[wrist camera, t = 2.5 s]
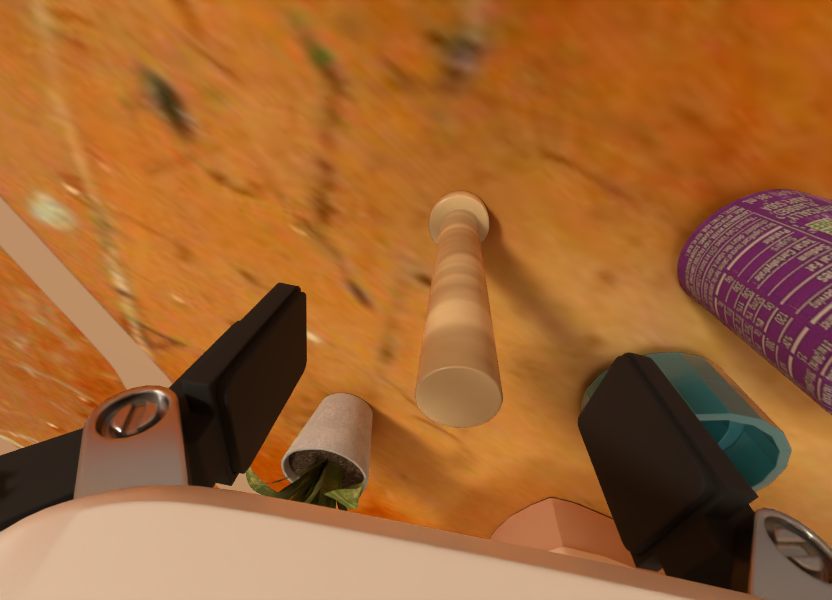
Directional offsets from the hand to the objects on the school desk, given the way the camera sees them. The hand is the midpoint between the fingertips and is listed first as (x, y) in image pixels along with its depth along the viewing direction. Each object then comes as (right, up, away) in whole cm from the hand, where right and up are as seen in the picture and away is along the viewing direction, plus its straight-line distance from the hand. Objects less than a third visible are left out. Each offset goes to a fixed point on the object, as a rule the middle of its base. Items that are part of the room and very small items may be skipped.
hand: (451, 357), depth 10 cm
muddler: (+2, +7, +11) cm, 13 cm away
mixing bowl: (+17, -6, +16) cm, 25 cm away
